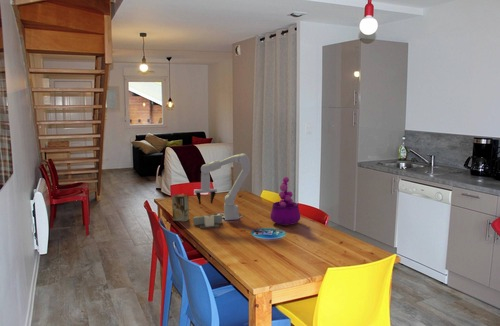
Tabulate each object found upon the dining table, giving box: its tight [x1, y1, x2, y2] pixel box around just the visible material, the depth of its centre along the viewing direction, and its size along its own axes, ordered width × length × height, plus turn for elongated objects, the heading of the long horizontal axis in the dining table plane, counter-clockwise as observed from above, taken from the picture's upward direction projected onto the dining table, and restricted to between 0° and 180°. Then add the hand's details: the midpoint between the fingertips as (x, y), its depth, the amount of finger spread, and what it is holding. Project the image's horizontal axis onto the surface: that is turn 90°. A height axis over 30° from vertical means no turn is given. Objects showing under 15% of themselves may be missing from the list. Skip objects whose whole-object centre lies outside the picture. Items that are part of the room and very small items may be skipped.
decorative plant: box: [269, 176, 301, 226], centre depth 261 cm, size 19×18×30 cm
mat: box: [198, 223, 221, 230], centre depth 257 cm, size 12×8×1 cm, turn 107°
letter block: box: [203, 214, 214, 227], centre depth 257 cm, size 5×5×6 cm
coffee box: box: [171, 194, 190, 222], centre depth 270 cm, size 9×6×16 cm
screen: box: [192, 214, 223, 226], centre depth 261 cm, size 18×1×5 cm, turn 107°
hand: (205, 203), depth 271 cm, fingers open, 7 cm apart
